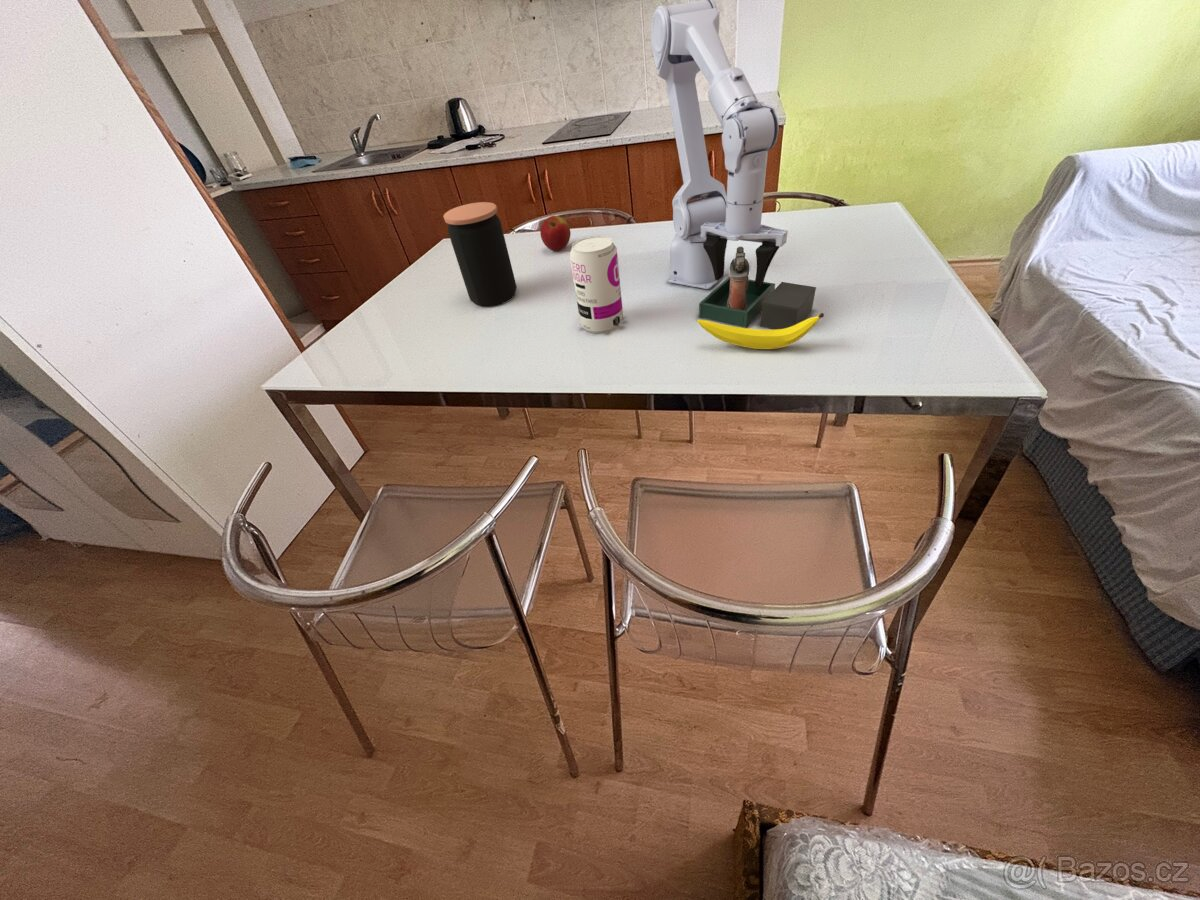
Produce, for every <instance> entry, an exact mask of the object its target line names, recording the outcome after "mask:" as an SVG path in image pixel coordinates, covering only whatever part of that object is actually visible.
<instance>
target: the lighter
mask: <svg viewBox="0 0 1200 900" xmlns="http://www.w3.org/2000/svg"><path fill="white" fill-rule="evenodd" d="M750 267H751V266H750V262H749V261H748V259H747V258H746V252H745V248H744V247H743V246H737V247H736V252H735V257H734V258H732V260H731V262H730V264H729V270H728V271H729V276H730V290H729V298H728V305H727V307H730V308H735V309H740V310H745V311H746V303H747V301H746V290H747V289H748V279H750V277H749V275H750Z"/></svg>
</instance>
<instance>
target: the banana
mask: <svg viewBox="0 0 1200 900" xmlns="http://www.w3.org/2000/svg"><path fill="white" fill-rule="evenodd" d="M824 316H825V313H823V312H821V313H820V314H818V315H817V316H812V317H809V318H806V319H805V320H804V321H802V322H800V323H798V324H796V325H794V326H791V327H788V328H784V329H762V328H761V329H759V328H748V327H741V326H736V325H730V324H724V323H723V324H722V323H720V322H716V321H712V320H708V319H696V323H698V324H699V326H700V327H701V328H702V329H703V330H704V331H706V332H707V333H709V334H710V335H711V336H713V337H714V338H715V339H718V340H720V341H722V342H724V343H727V344H732V345H735V346H739V347H743V348H748V349H758V350H774V349H780V348H784V347H787V346H790V345H792V344H794V343H796V342H798V341H799V340H801V339H802V338H803V337H804V336H806V335H807V334H808V333H810V331H811V330H812V329H813V328H814V327H815V326H816V324H817V323H818V322H819V320H820V319H822V318H824Z"/></svg>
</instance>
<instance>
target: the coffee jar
mask: <svg viewBox="0 0 1200 900" xmlns="http://www.w3.org/2000/svg"><path fill="white" fill-rule="evenodd" d="M497 212H498V206H497V205H496V204H495V203H493V202H488V201H482V202H481V201H480V202H479V201H478V202H471V203H467V204H462V205H459V206H456V207H454V208H451V209H449V210H448V211H446V212H445V213H444V214H443V215H442V218H443V220H444V222H445V224H447V225H448V226H447V233H448V236H449V240H450V242H451V245H452V248H453V251H454V256H455V258H456V261H457V263H458V267H459V270H460V273H461V277H462V280H463V283H464V286H465V289H466V292H467V295H468V298H469V300H470V301H471V302H473V304H474V305H476V307H477V306H478V307H482V308H484V307H485V308H489V307H496V306H499V305H503V304H505V303H507V302H509V301H511V300H512V299H513V298H515V295H516V292H517V287H518V286H517V282H516V278H515V275H514V271H513V267H512V262H511V258H510V254H509V249H508V246H507V243H506V238H505V234H504V230H503V226H502V222H501V218H499V216H498V215H497Z"/></svg>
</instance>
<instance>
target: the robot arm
mask: <svg viewBox="0 0 1200 900" xmlns="http://www.w3.org/2000/svg"><path fill="white" fill-rule="evenodd" d="M650 28H651V30H650V45H651V49H652V55H653V59H654V60H653V61H654V65H655V68H656V69H655V70H656V72H657V76H658V77H660V78H661V79H663V80H664V81H665V87H666V92H667V98H668V104H669V108H670V115H671V120H672V126H673V132H674V137H675V142H676V143H675V144H676V148H677V153H678V159H679V166H680V172H681V176H682V183H683V184H682V185H681V186H680V187H679V190H678V191H677V192H676V193H675V195H674V196H673V198H672V202H671V205H672V223H673V228H674V232H675V233H676V234H675V235H674V236H673V238H672V240H671V242H670V247H669V273H670V274H669V276H670V278H669V279H668V283H670V284H676V285H681V286H687V287H693V288H698V289H703V290H710V289H712V287H713V286H715V285H716V284H717V283H718V282H719V281H720V280H721V279H723V278H724V277H725V276H726V275H727V272H726V271H725V261H726V260H725V257H726V252H727V251H726V250H727V245H728V241H733V242H737V241H743V242H744V241H745V242H752V243H760V245H759V246H758V247H756V249H755V258H756V270H755V271H756V272H755V279H754V280H755V287H760V286H761V285H762V284H763V282H765V278H766V275H767V273H768V269H769V268H770V265H771V263H772V262H773V260H774V257H775V256H776V254H777V252H778V250H779V249H780V248H781V247H783V246H784V245H786V243H787V239H788V231H789V230H788V229H780V228H778V227H777V228H776V227H773V226H768V225H766V224H762V217H763V205H764V196H765V187H766V177H767V176H766V175H767V167H768V166H767V165H768V154H769V151H771V150H772V149H773V148H774V146H775V145H776V143H777V140H778V137H779V132H780V131H779V130H780V129H779V128H780V127H779V126H780V123H779V117H778V115H777V112H776V109H775V107H774V106H773V105H771V104H765V102H764V101H759V100H758V97H757V95H756V94H755V93H754V91H753V88H752V86H751V85H750V83H749V81H748V79H747V77H746V75H745V73H744V71H743V70H742V69H741V68H739V67H737V66H733V67H732V66H731V64H730V60H729V58H728V56H727V52H726V51H725V48H724V46H723V43H722V40H721V38H720V35H719V33H720V11H719V9H718V6H717V4H716V2H715V0H695V1H689V2H683V3H678V4H672V5H671V4H670V5H659V6H657V7H656V9H655V11H654V13H653V16H652V19H651V27H650ZM699 72H701V73H702V75H703V76H704V78H705V79H706V81H707V82H708V84H709V87H708V93H707V99H708V101H709V103H710V105H711V107H712V110H713V111H714V113H715V115H716V118H717V119H718V121H719V124H720V126H721V127H722V129H723V130H722V133H721V144H722V150H723V153H724V166H725V170H727V182H726V188H725V184H724V183H722V182H721V181H719V180H718V179H716V178H715V177H713V176H712V175H711V170H710V165H709V159H708V152H707V146H706V145H707V144H706V140H705V139H706V138H705V133H704V126H703V122H702V121H703V120H702V115H701V114H702V113H701V109H700V103H699V96H698V89H697V83H696V77H697V74H699Z"/></svg>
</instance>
